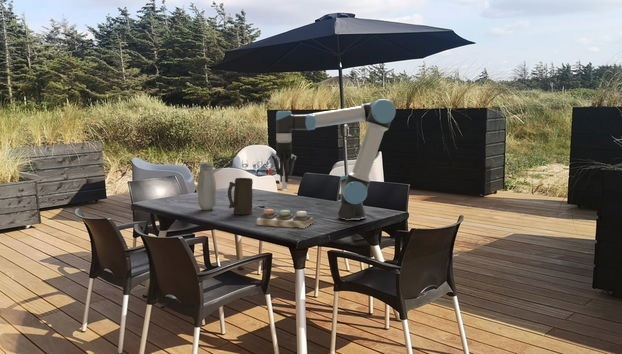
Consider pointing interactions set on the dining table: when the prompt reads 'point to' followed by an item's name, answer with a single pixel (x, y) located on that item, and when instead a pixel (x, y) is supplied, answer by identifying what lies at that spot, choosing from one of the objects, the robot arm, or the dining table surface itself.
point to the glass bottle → (206, 187)
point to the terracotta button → (268, 211)
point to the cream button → (301, 213)
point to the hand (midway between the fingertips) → (284, 188)
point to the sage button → (284, 212)
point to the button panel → (284, 220)
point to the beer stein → (241, 196)
